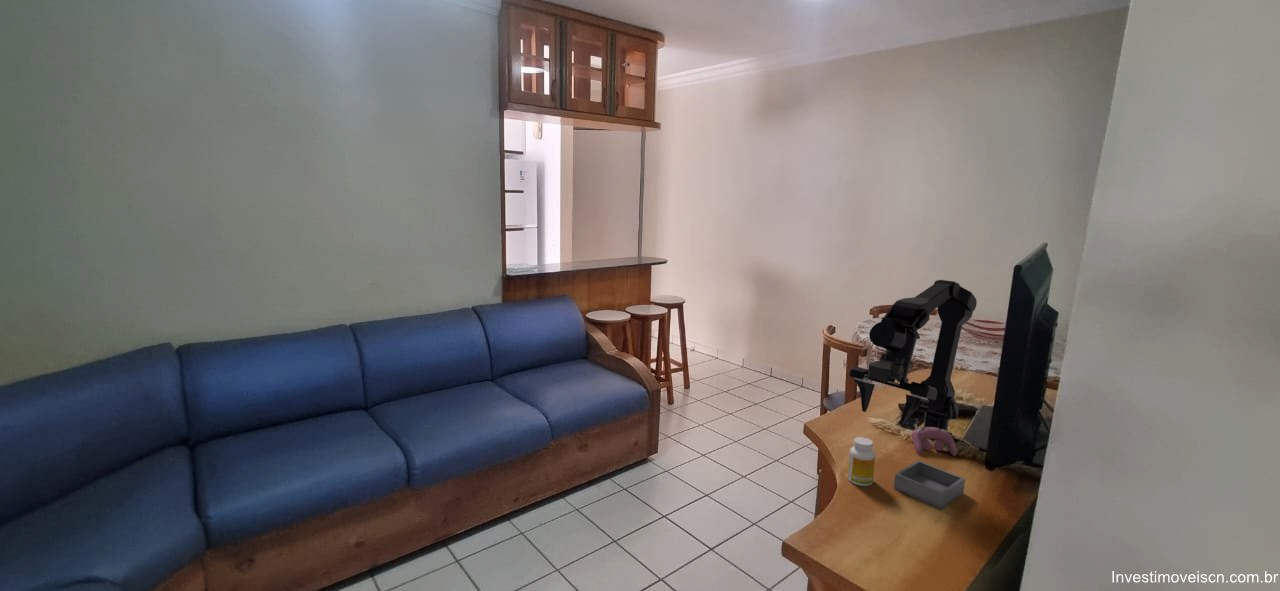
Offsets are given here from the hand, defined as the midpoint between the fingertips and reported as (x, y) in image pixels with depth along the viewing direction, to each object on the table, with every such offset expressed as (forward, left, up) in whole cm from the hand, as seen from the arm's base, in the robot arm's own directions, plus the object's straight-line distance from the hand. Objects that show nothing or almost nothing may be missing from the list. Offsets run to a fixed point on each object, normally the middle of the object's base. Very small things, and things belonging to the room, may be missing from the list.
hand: (882, 417), depth 127 cm
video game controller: (-19, +4, -13) cm, 24 cm away
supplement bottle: (+9, +1, -13) cm, 16 cm away
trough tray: (+1, +12, -13) cm, 18 cm away
